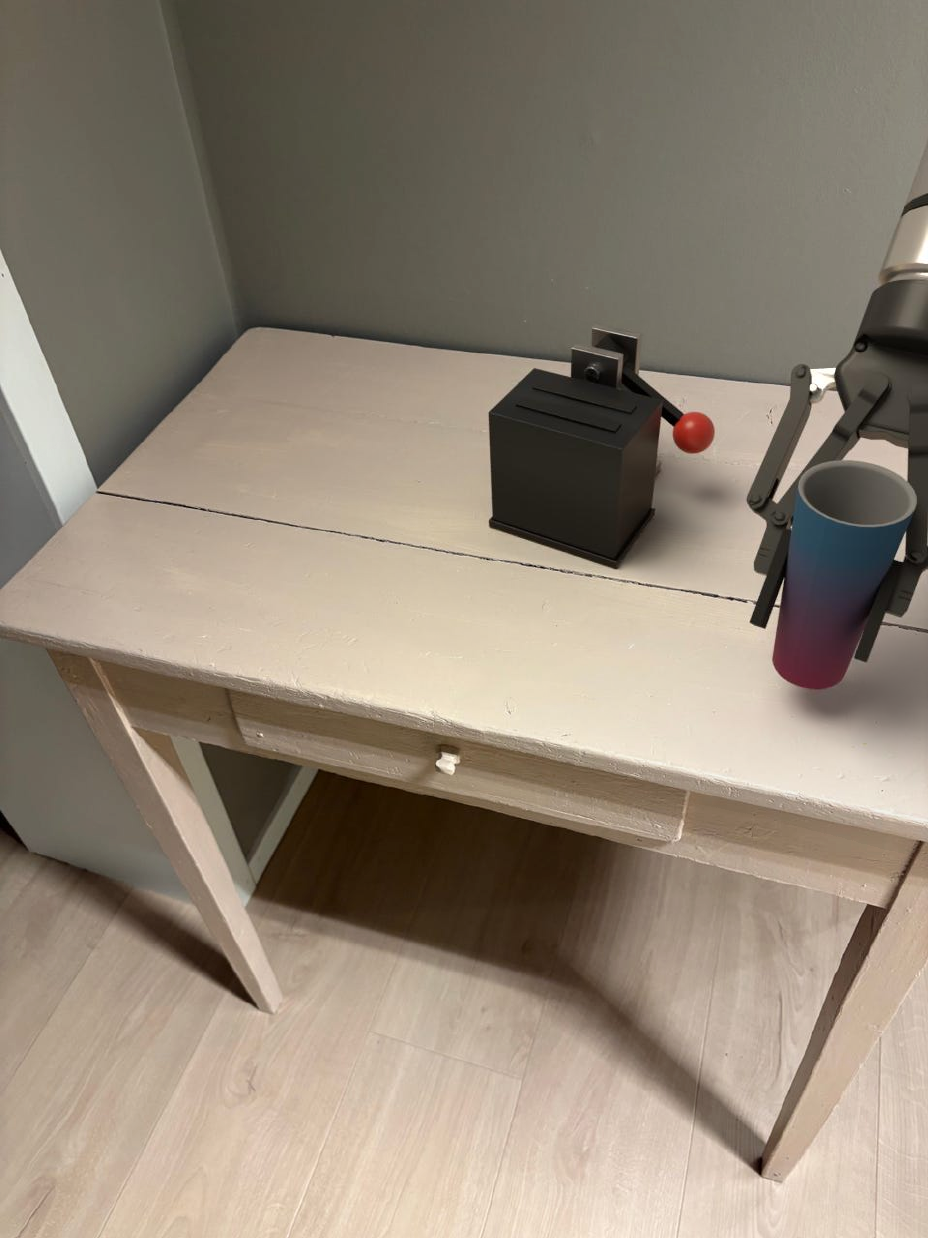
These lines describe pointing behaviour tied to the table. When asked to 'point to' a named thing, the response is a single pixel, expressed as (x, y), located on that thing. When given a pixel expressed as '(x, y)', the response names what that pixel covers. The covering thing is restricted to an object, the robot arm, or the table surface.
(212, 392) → the table surface
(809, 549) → the cup
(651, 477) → the toaster
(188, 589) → the table surface
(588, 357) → the bracket
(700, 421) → the lever
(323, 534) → the table surface
